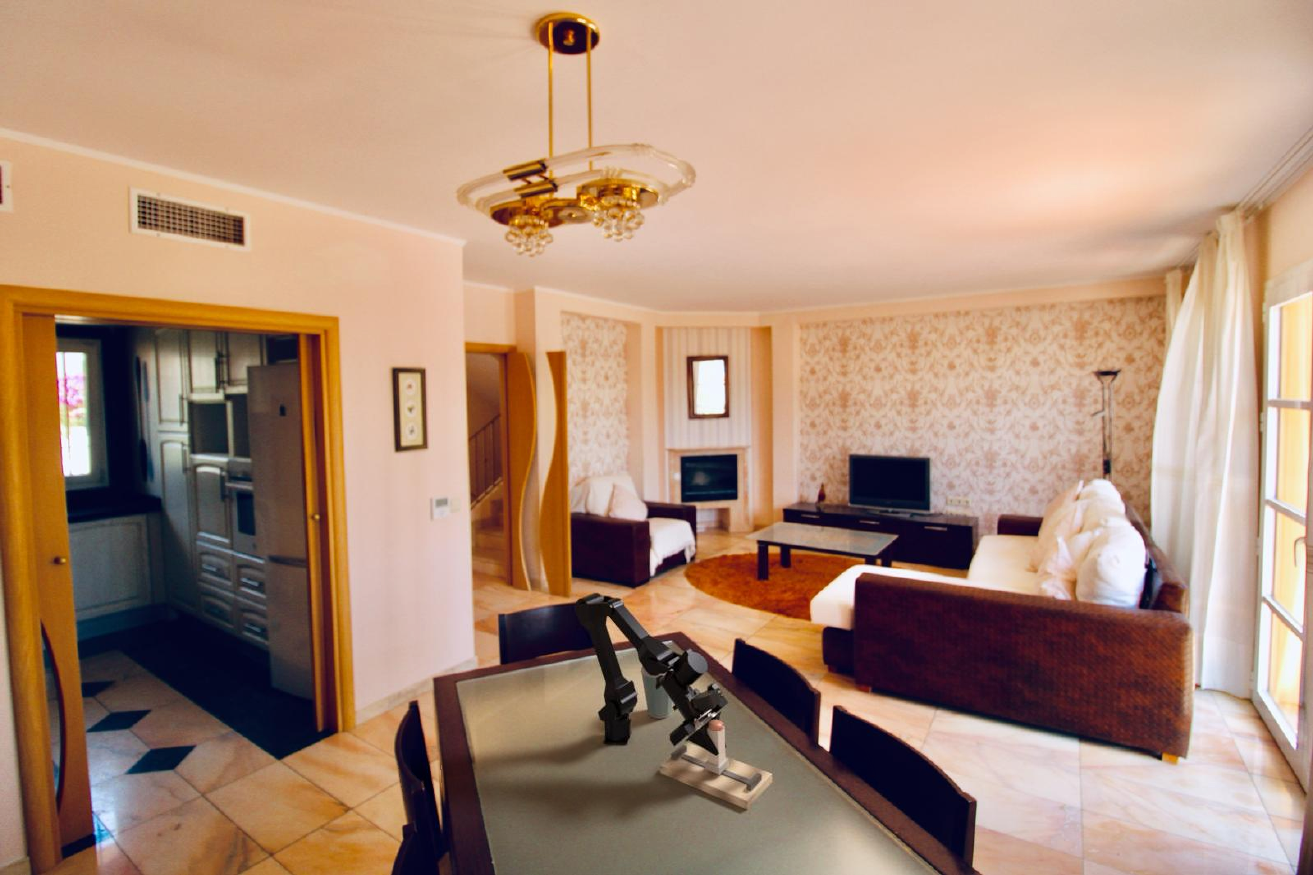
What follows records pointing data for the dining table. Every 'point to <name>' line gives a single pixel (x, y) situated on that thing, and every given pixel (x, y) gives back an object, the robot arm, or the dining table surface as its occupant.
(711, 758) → the slider lever
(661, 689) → the disposable coffee cup
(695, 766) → the slider console
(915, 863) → the dining table surface
